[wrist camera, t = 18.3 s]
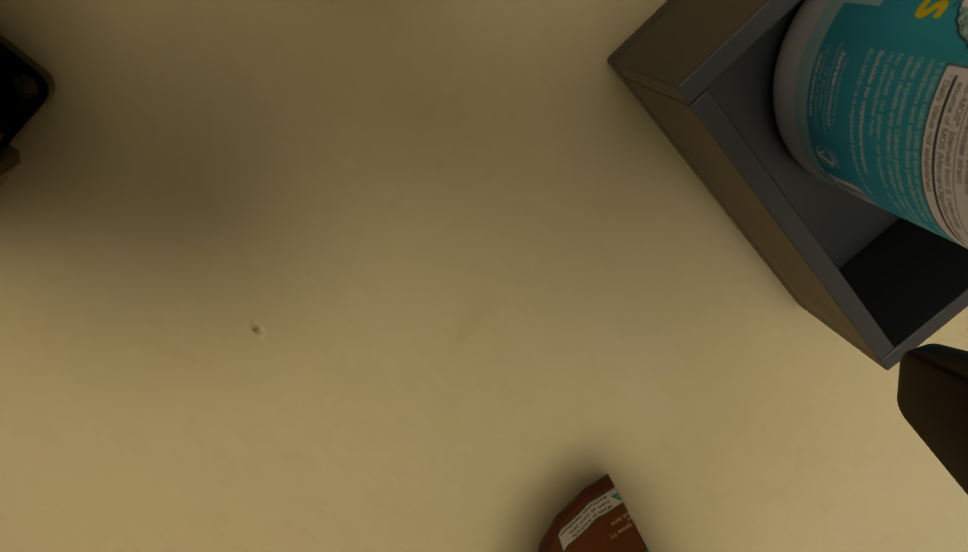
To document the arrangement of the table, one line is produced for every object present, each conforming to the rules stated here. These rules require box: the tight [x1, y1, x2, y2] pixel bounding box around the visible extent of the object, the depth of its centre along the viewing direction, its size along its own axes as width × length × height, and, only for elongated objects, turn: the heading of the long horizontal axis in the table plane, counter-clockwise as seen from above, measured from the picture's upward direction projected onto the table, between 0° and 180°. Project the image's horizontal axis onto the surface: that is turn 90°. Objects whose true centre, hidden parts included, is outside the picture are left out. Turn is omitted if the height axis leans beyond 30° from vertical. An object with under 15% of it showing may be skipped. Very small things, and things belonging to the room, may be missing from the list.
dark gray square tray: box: [607, 0, 968, 370], centre depth 20 cm, size 12×12×4 cm
